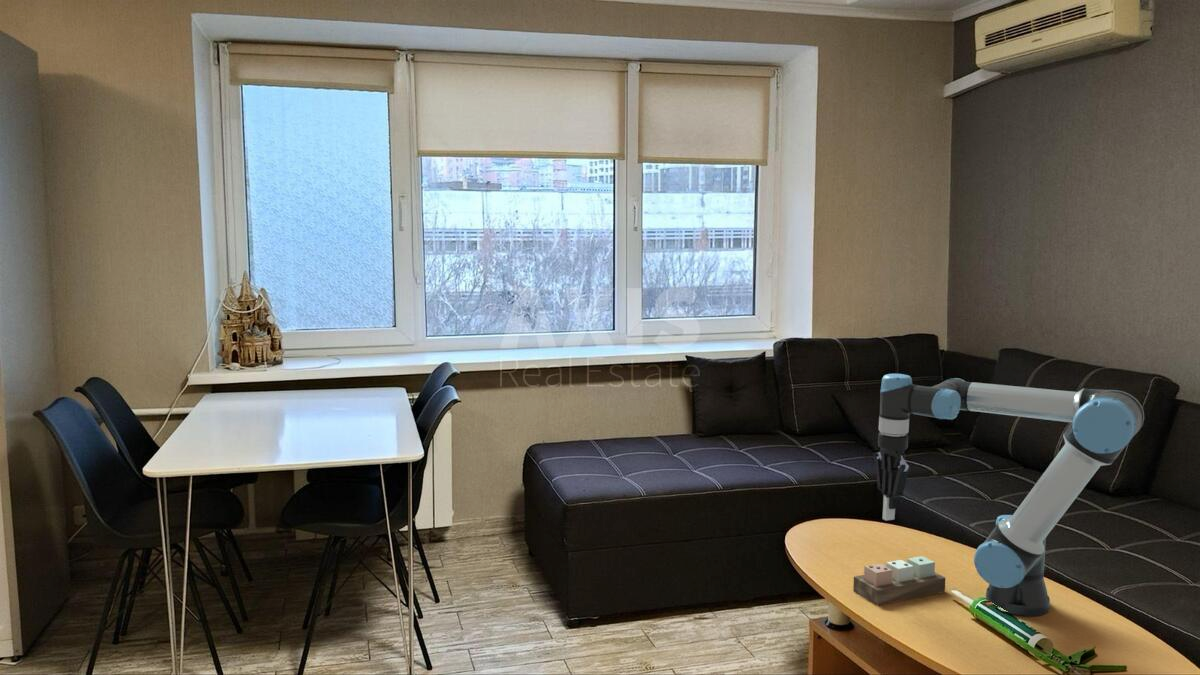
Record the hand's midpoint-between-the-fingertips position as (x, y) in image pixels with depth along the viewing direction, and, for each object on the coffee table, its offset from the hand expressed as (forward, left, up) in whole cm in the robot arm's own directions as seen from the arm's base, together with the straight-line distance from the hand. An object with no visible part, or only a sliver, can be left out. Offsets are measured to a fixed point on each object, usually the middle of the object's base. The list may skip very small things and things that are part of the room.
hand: (888, 519), depth 242 cm
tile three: (-1, +4, -18) cm, 18 cm away
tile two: (-1, -3, -18) cm, 18 cm away
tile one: (-1, -10, -18) cm, 21 cm away
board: (-1, -3, -20) cm, 21 cm away
